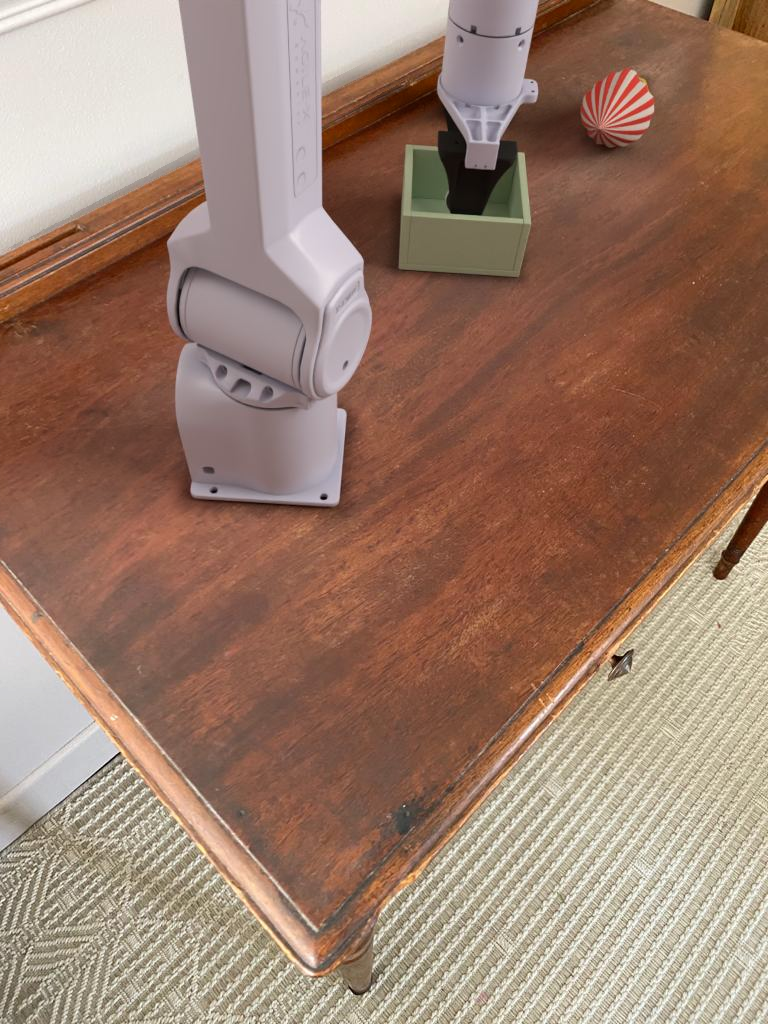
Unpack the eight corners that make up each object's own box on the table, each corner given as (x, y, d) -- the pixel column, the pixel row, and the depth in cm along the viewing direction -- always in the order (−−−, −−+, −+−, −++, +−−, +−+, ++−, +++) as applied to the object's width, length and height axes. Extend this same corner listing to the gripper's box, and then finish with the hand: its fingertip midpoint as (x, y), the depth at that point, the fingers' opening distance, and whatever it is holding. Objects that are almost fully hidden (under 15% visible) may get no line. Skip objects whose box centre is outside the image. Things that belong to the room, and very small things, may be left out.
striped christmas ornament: (639, 127, 85) (593, 183, 71) (603, 77, 84) (549, 125, 70) (690, 84, 81) (652, 135, 67) (653, 31, 79) (606, 71, 65)
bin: (398, 269, 64) (403, 215, 60) (401, 198, 69) (405, 144, 65) (518, 277, 64) (531, 223, 60) (512, 206, 69) (524, 152, 65)
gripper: (561, 79, 48) (518, 261, 60) (544, -31, 56) (509, 148, 68) (445, 71, 48) (424, 255, 60) (444, -38, 56) (426, 142, 68)
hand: (463, 198), depth 64 cm, fingers closed on wristwatch, 5 cm apart
